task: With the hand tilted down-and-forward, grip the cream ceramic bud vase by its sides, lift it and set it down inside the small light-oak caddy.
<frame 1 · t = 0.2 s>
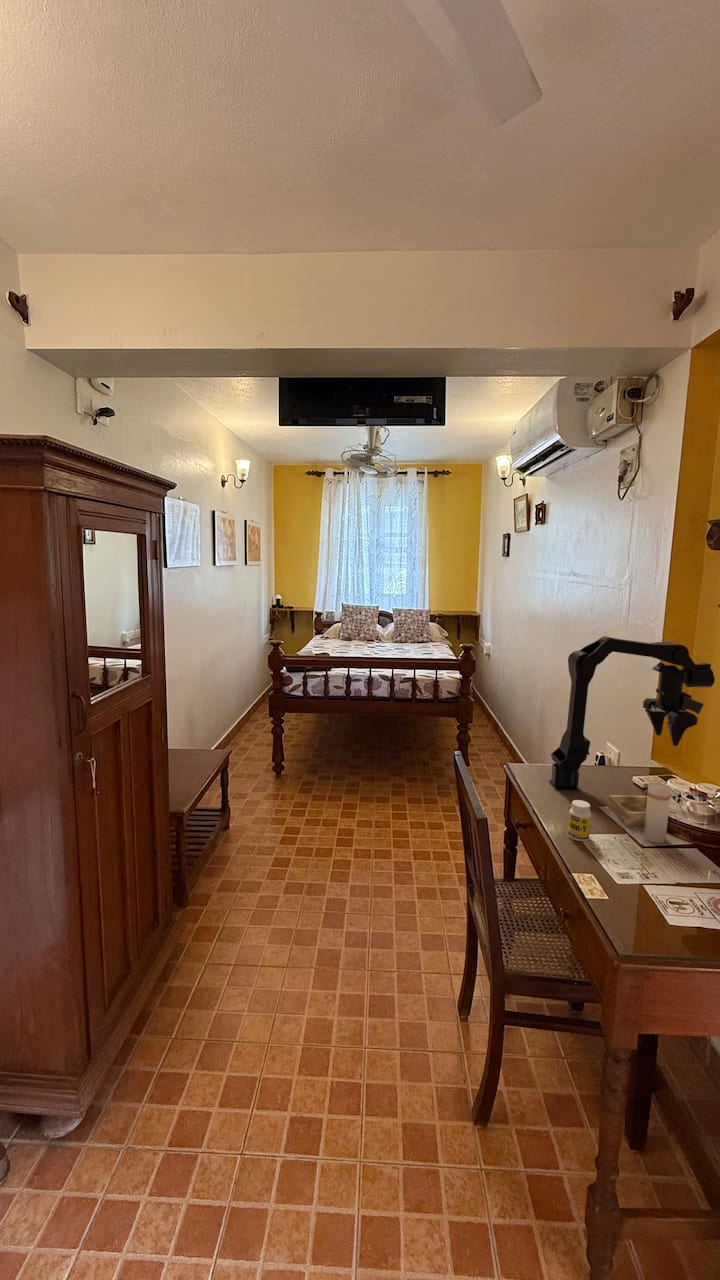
hand: (666, 740, 157), 15 cm above the table, tool pointing down, fingers open, 9 cm apart
supplement bottle: (578, 837, 130), on the table
caddy: (636, 816, 141), on the table
vase: (654, 838, 130), on the table
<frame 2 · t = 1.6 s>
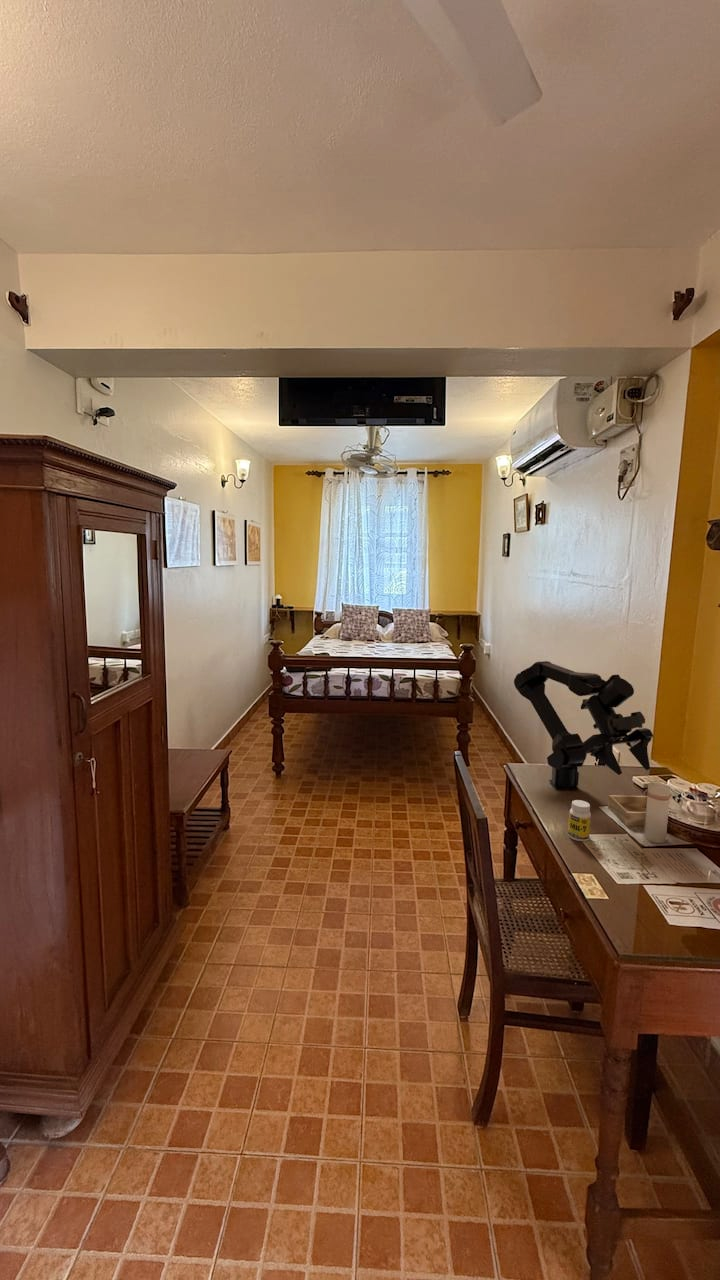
hand: (634, 771, 136), 13 cm above the table, tool tilted 45°, fingers open, 9 cm apart
nothing on the table moved.
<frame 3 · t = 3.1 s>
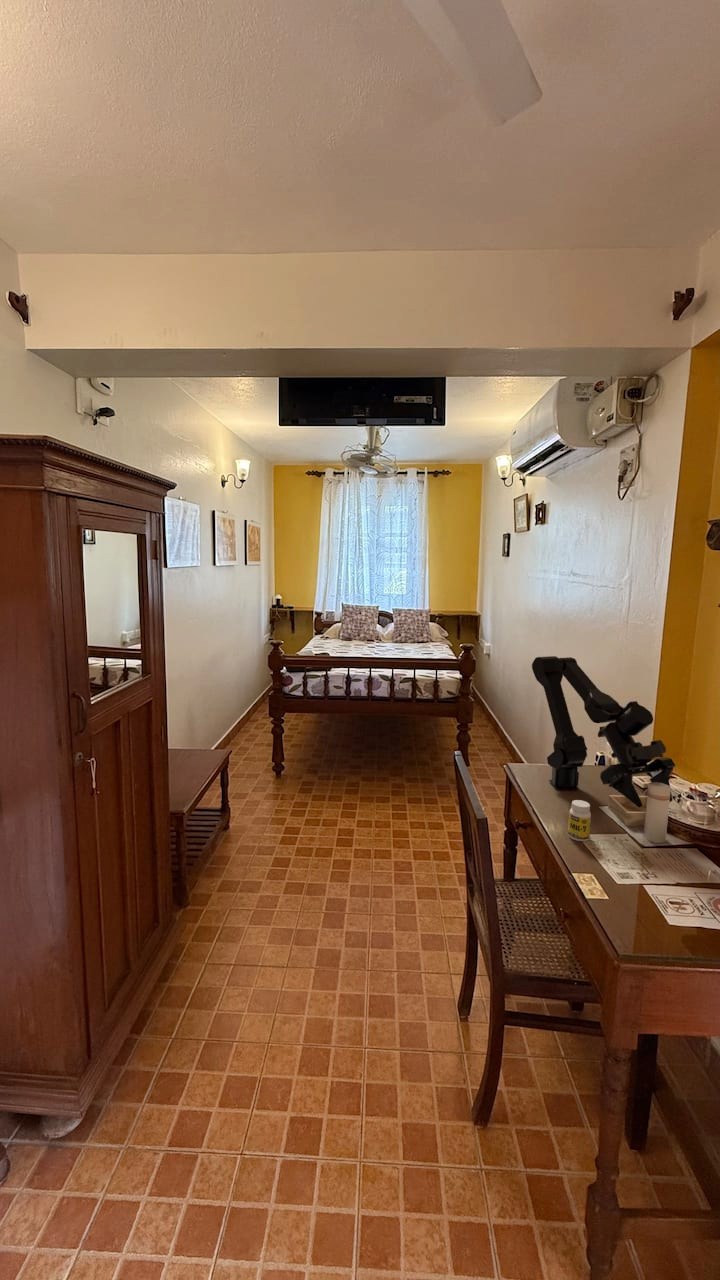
hand: (656, 804, 129), 8 cm above the table, tool tilted 45°, fingers open, 9 cm apart
nothing on the table moved.
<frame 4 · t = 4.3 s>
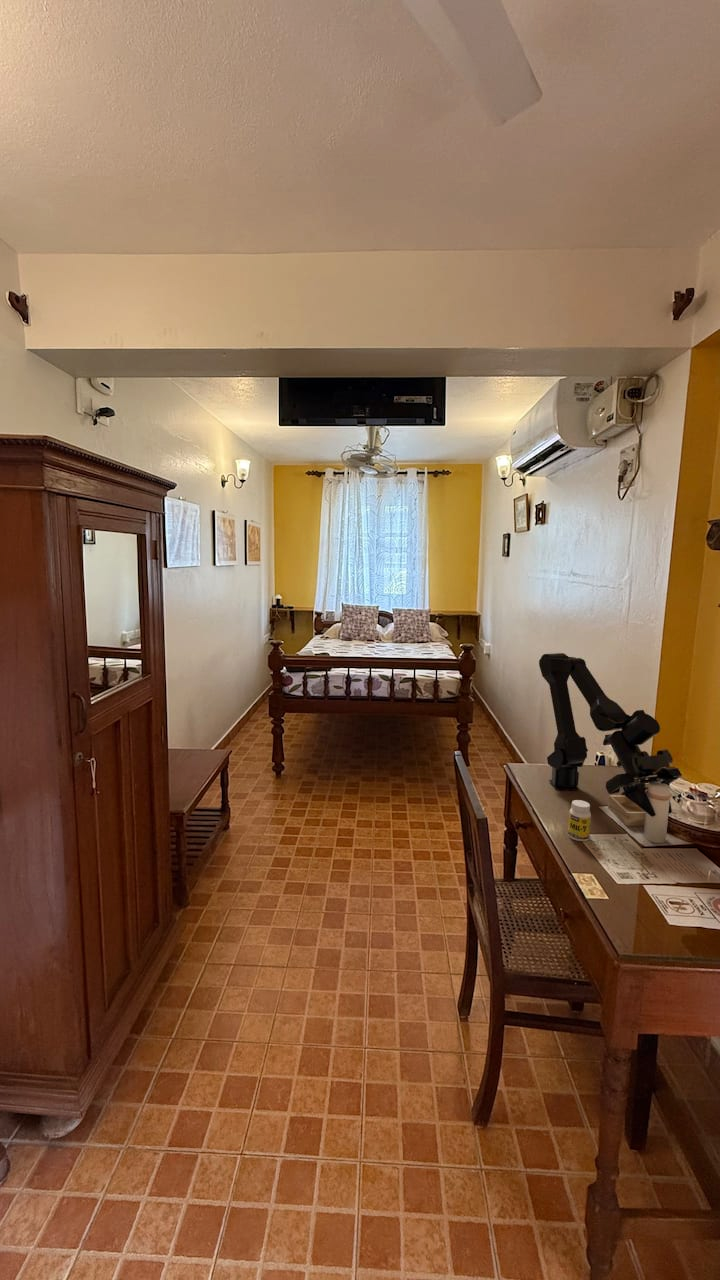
hand: (662, 814, 128), 7 cm above the table, tool tilted 45°, fingers closed on vase, 5 cm apart
vase: (654, 838, 130), on the table, touching gripper
everything else where it was.
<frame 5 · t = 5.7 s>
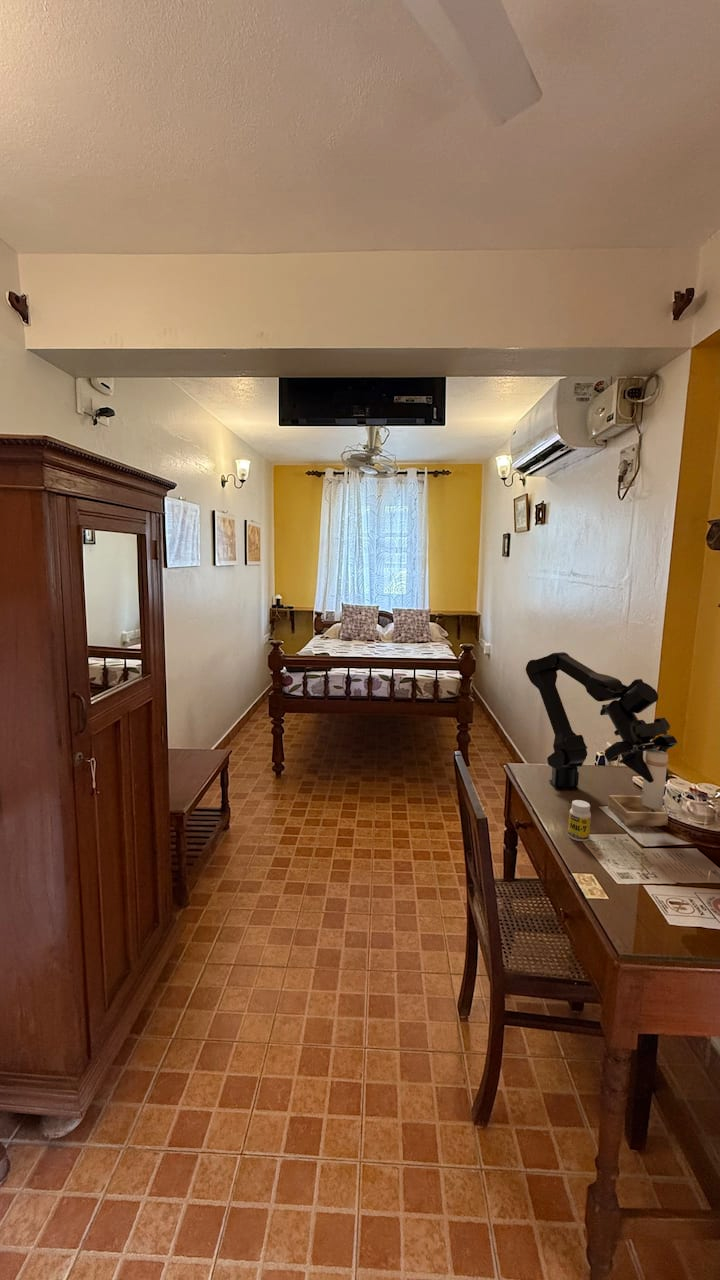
hand: (659, 780, 130), 13 cm above the table, tool tilted 45°, fingers closed on vase, 5 cm apart
vase: (651, 804, 132), point 7 cm above the table, touching gripper
everything else where it was.
when the fingers open (8 cm above the table, at t = 7.5 s): vase drops 1 cm, resting on caddy.
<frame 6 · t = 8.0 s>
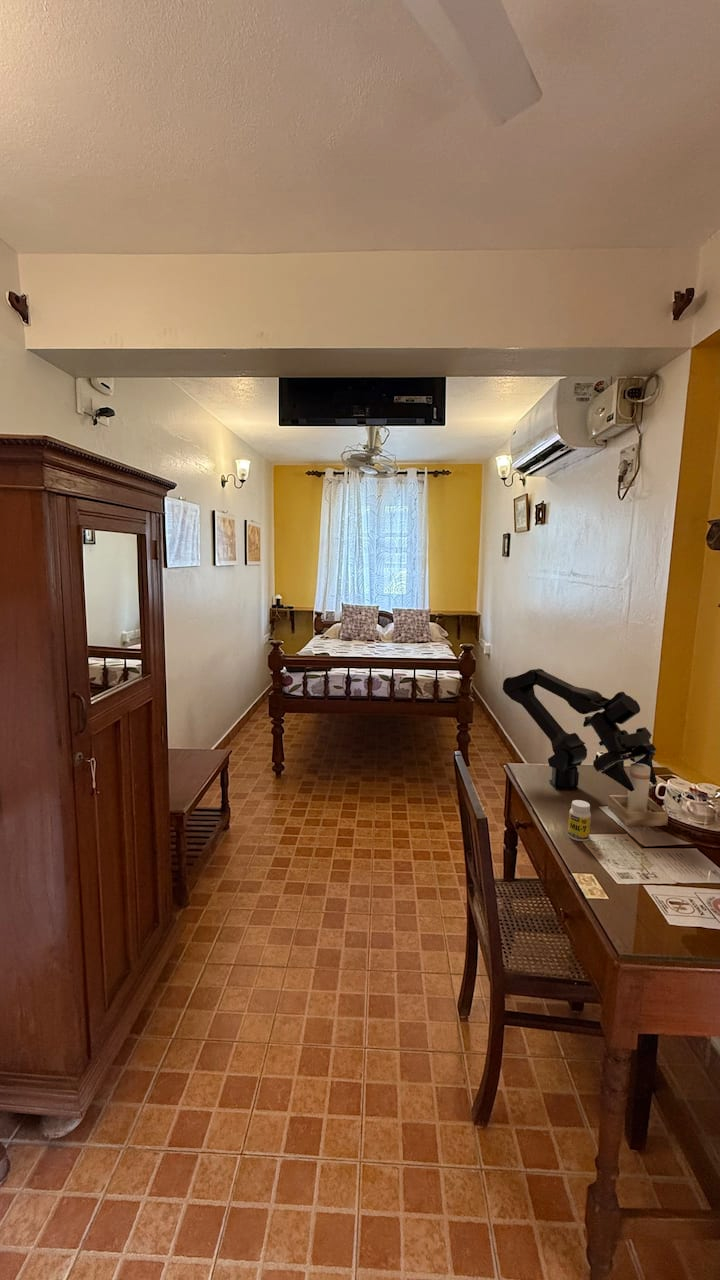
hand: (644, 787, 138), 9 cm above the table, tool tilted 45°, fingers open, 9 cm apart
vase: (636, 814, 141), point 1 cm above the table, touching caddy
everything else where it was.
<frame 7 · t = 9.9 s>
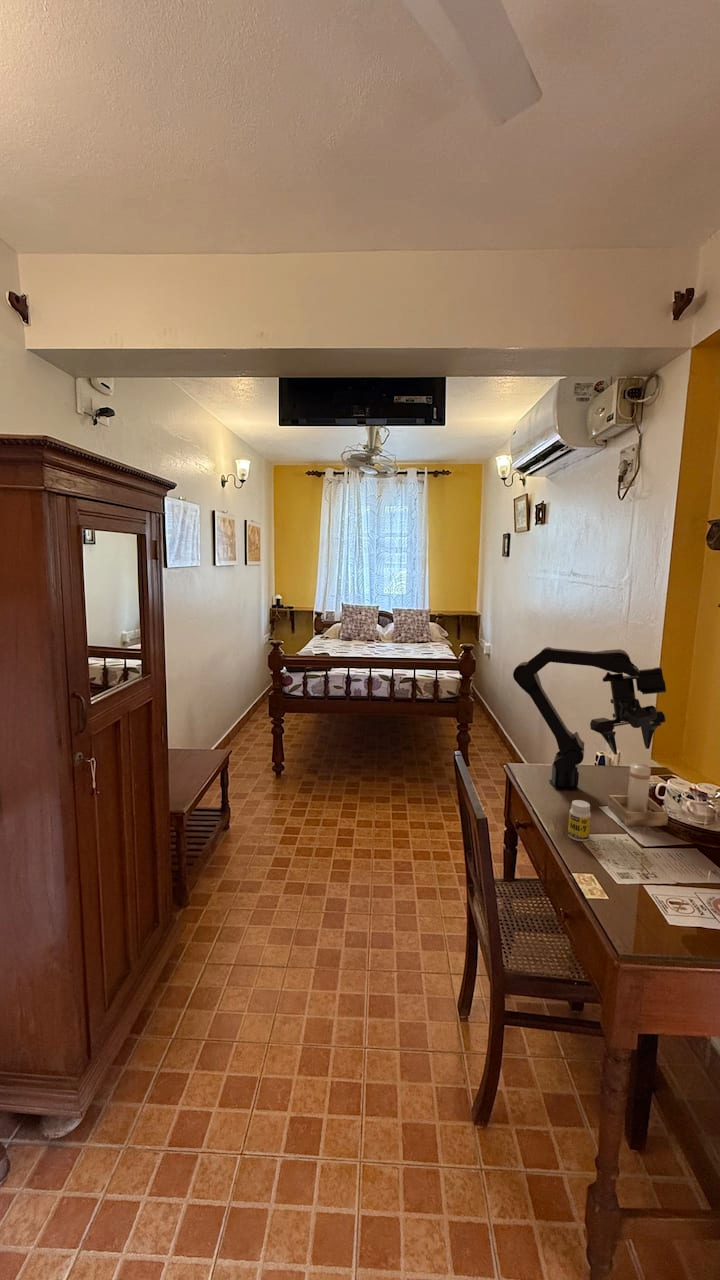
hand: (631, 751, 151), 13 cm above the table, tool pointing down, fingers open, 9 cm apart
nothing on the table moved.
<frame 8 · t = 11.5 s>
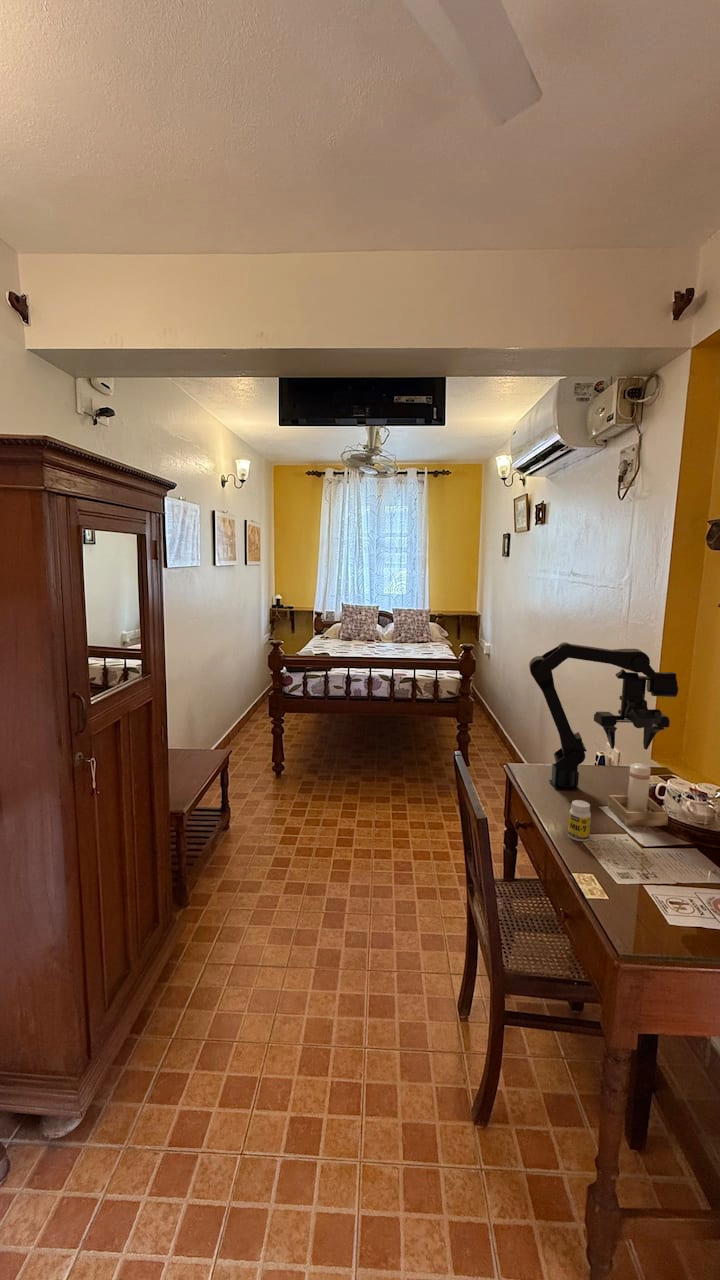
hand: (628, 748, 154), 13 cm above the table, tool pointing down, fingers open, 9 cm apart
nothing on the table moved.
at the end: vase inside the target area on the caddy (0.1 cm from its centre), point 0.5 cm above the caddy's base; vase tilted 0°; the gripper is holding nothing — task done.
